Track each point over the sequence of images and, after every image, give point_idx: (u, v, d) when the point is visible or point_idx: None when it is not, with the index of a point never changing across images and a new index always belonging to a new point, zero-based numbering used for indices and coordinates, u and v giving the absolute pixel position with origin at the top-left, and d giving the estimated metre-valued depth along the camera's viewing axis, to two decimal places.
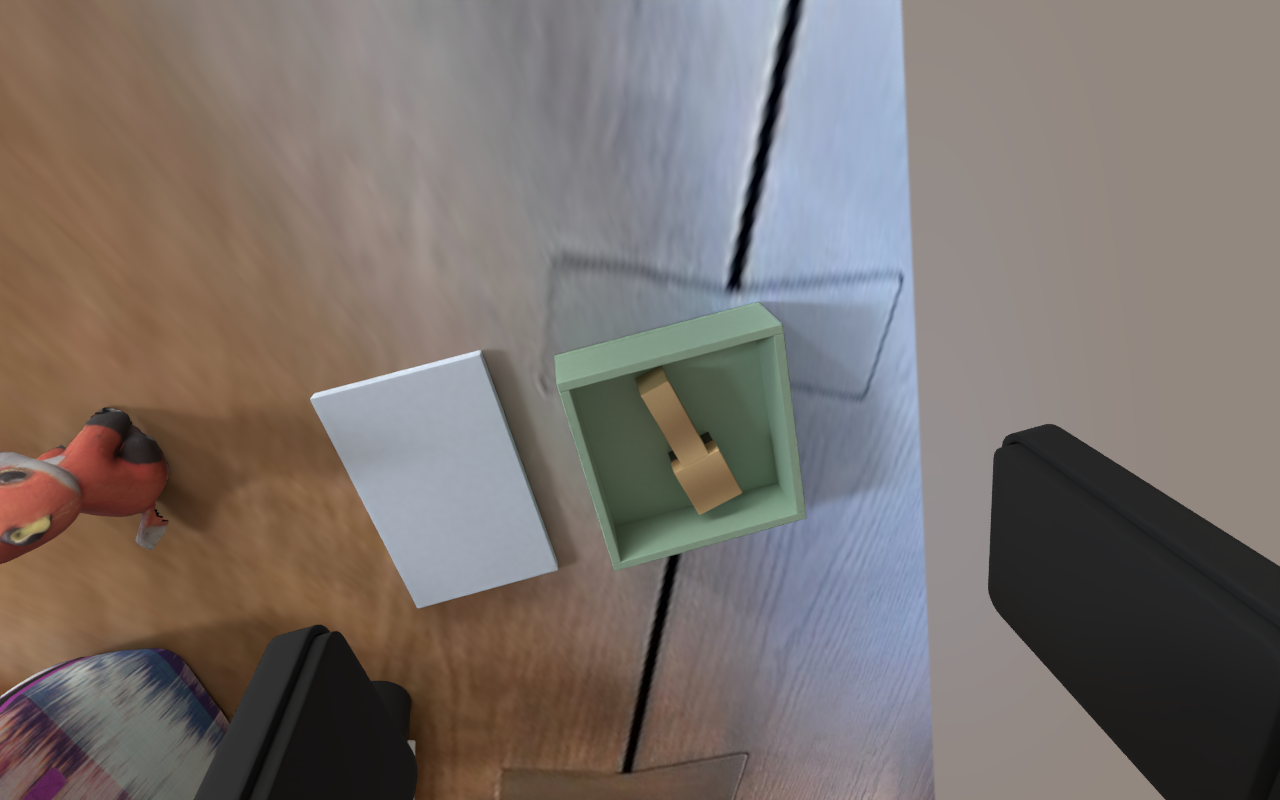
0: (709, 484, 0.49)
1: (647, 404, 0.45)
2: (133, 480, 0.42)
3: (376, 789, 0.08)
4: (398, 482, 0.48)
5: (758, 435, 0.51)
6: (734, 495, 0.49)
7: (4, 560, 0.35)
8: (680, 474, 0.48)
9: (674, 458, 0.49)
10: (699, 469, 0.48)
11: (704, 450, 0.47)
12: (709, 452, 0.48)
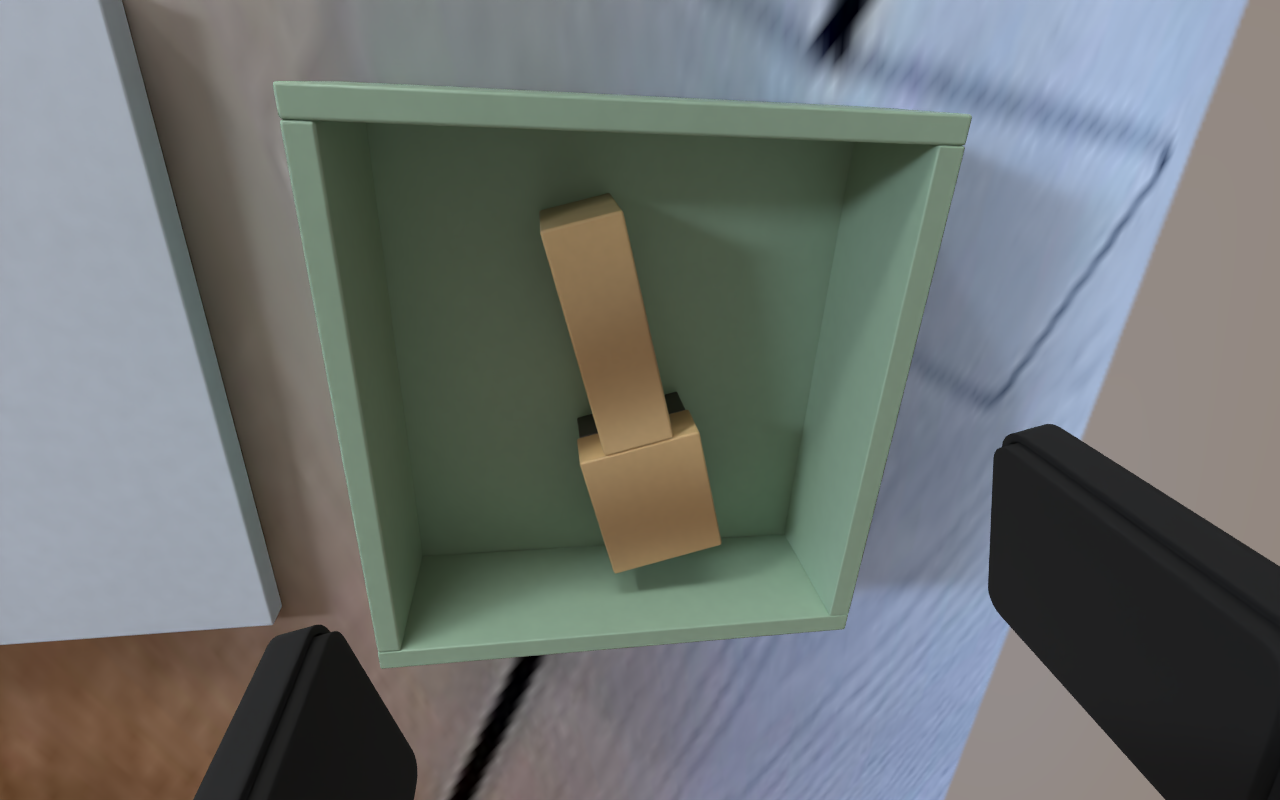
0: (655, 509, 0.21)
1: (552, 262, 0.17)
2: None
3: (376, 789, 0.08)
4: None
5: (777, 427, 0.24)
6: (703, 546, 0.22)
7: None
8: (594, 470, 0.20)
9: (588, 432, 0.21)
10: (641, 469, 0.20)
11: (665, 425, 0.19)
12: (675, 434, 0.20)
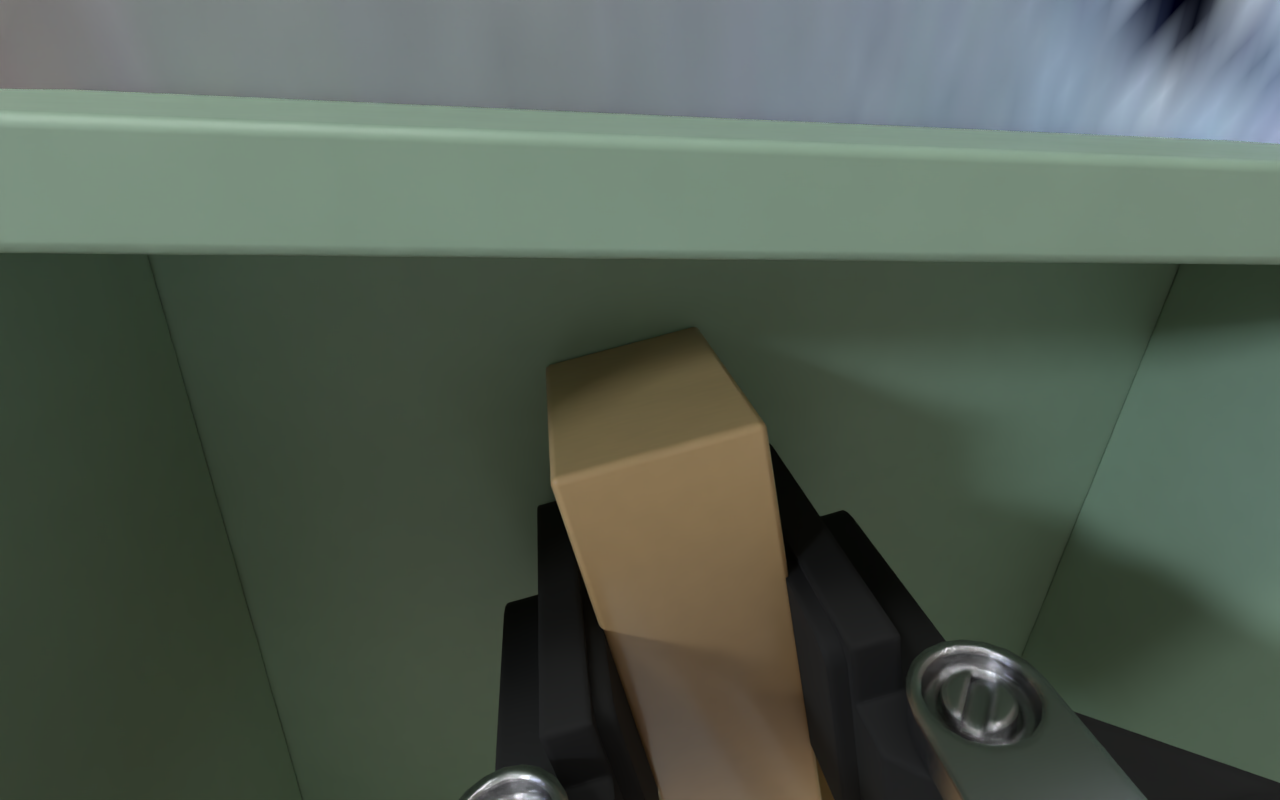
0: None
1: (581, 547, 0.07)
2: None
3: None
4: None
5: None
6: None
7: None
8: None
9: None
10: None
11: None
12: None
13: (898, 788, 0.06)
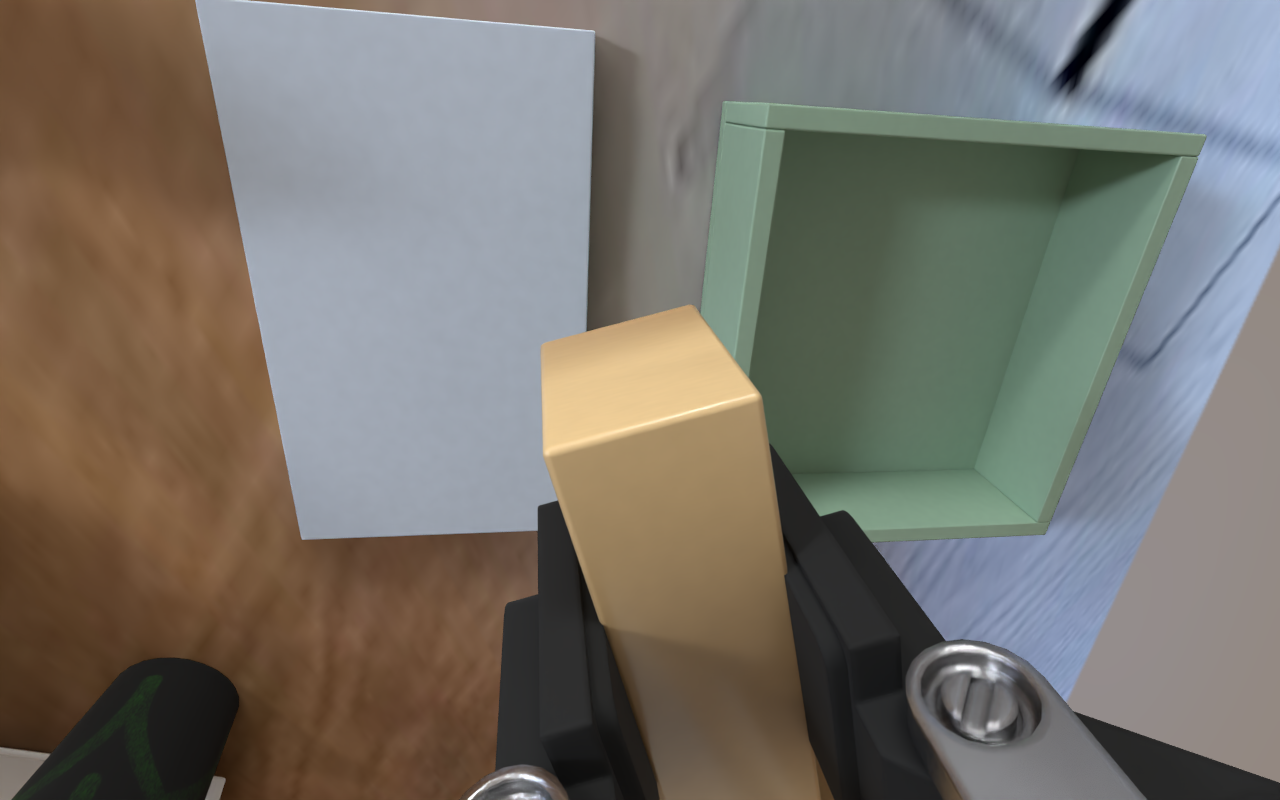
0: None
1: (574, 520, 0.06)
2: None
3: None
4: (339, 266, 0.23)
5: (984, 378, 0.30)
6: None
7: None
8: None
9: None
10: None
11: (809, 795, 0.09)
12: (823, 796, 0.09)
13: (898, 788, 0.06)
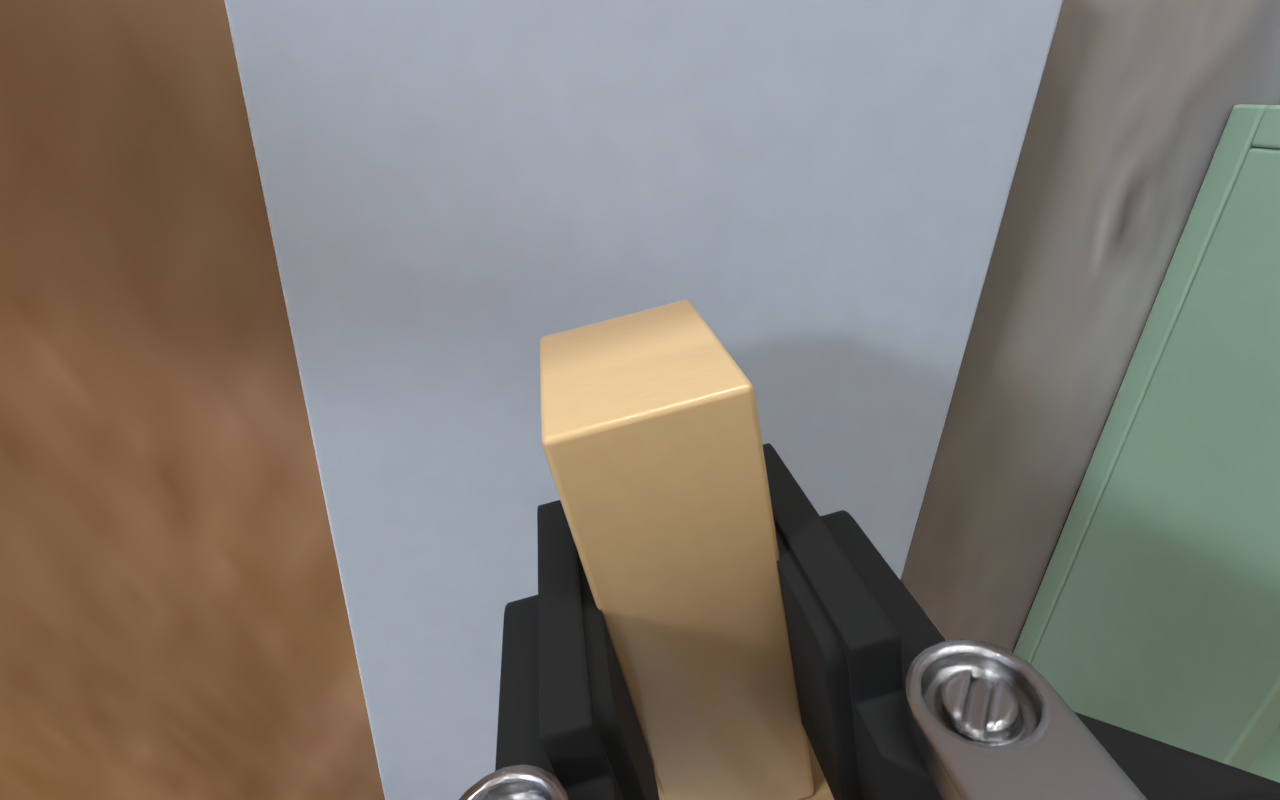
0: None
1: (572, 508, 0.07)
2: None
3: None
4: (494, 448, 0.12)
5: None
6: None
7: None
8: None
9: None
10: None
11: (802, 779, 0.09)
12: (815, 781, 0.10)
13: (898, 788, 0.06)
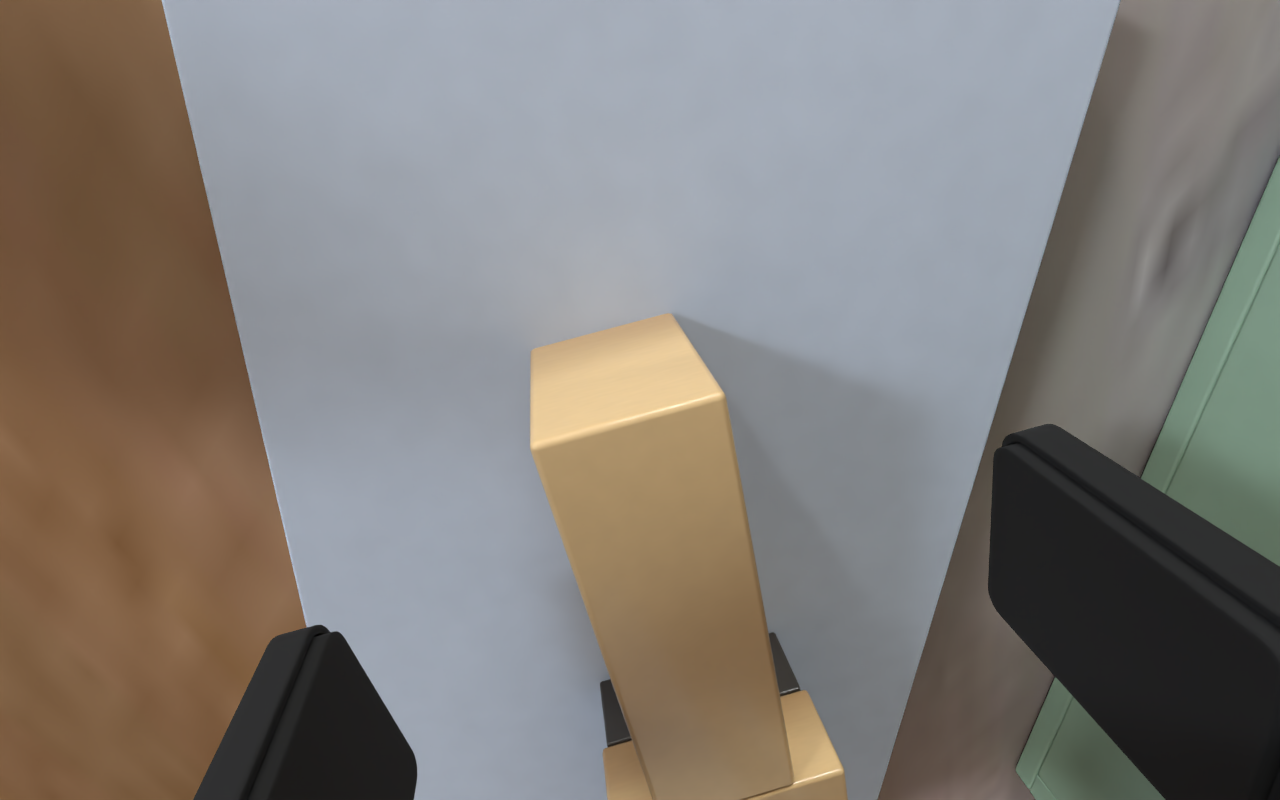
0: None
1: (559, 508, 0.07)
2: None
3: (376, 789, 0.08)
4: (482, 512, 0.11)
5: None
6: None
7: None
8: None
9: (623, 731, 0.11)
10: None
11: (782, 768, 0.10)
12: (795, 770, 0.10)
13: None
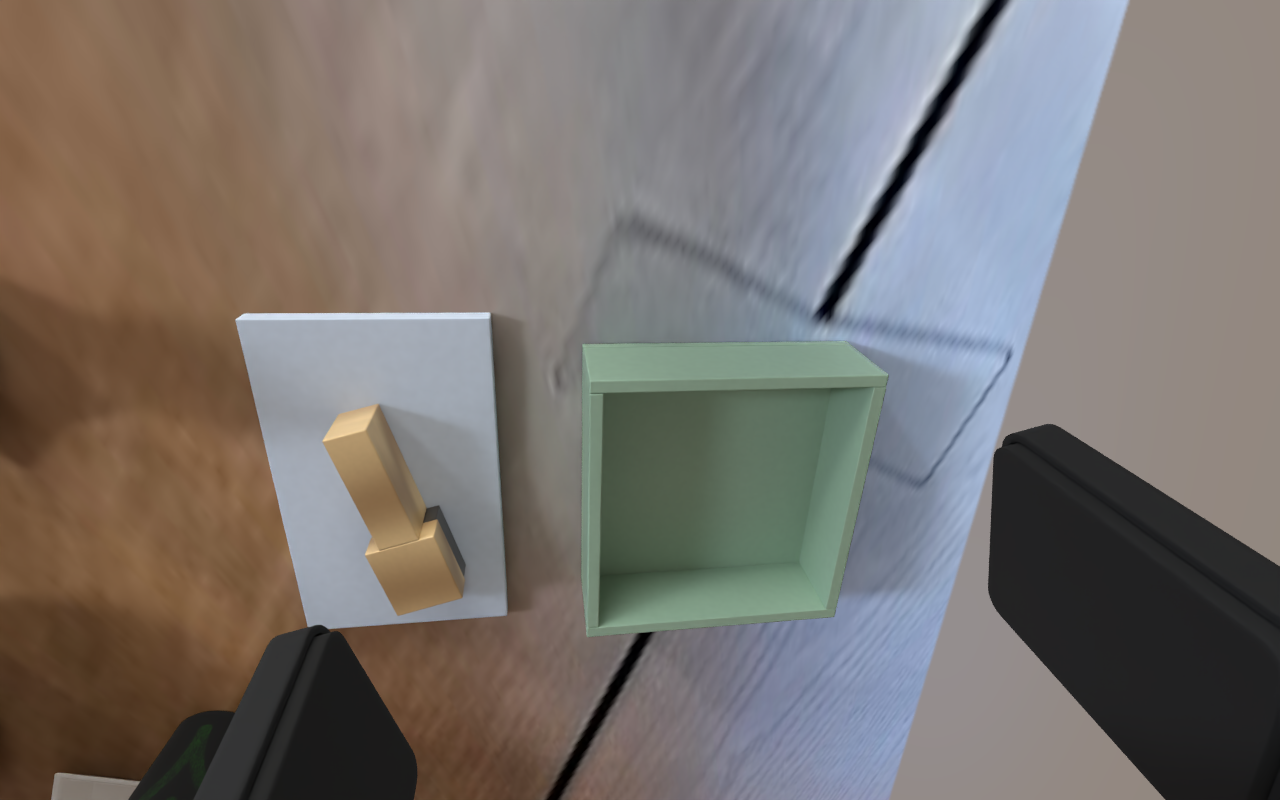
0: (415, 579, 0.35)
1: (331, 455, 0.31)
2: None
3: (376, 789, 0.08)
4: (329, 461, 0.35)
5: (795, 502, 0.41)
6: (450, 599, 0.36)
7: None
8: (373, 558, 0.34)
9: None
10: (402, 557, 0.34)
11: (412, 533, 0.34)
12: (420, 537, 0.34)
13: None
